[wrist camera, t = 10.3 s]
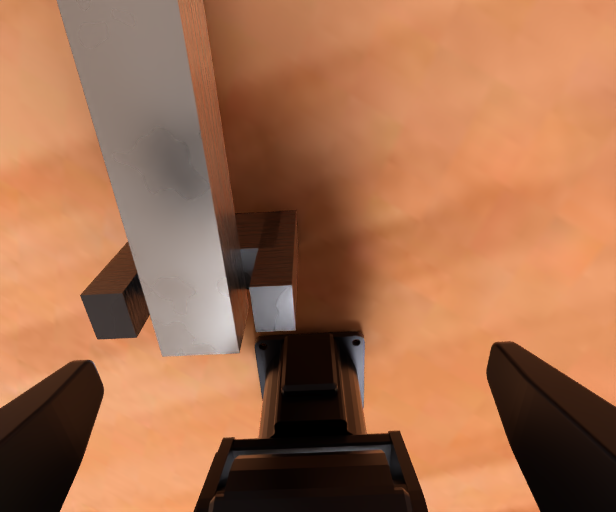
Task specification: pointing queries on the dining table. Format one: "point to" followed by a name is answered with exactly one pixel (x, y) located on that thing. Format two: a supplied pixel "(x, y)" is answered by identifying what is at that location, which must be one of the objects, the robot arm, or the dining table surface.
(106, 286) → the collar stand
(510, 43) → the dining table surface
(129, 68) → the grey metal bar
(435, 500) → the dining table surface
